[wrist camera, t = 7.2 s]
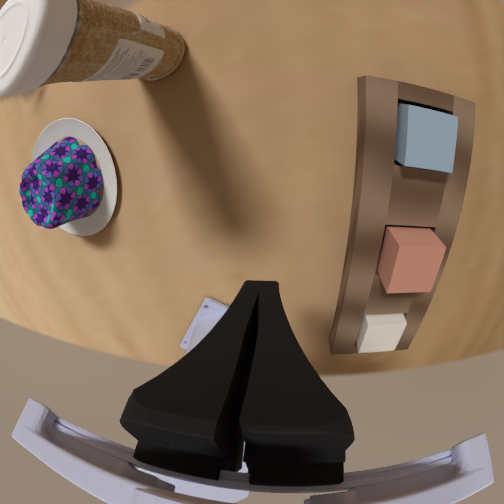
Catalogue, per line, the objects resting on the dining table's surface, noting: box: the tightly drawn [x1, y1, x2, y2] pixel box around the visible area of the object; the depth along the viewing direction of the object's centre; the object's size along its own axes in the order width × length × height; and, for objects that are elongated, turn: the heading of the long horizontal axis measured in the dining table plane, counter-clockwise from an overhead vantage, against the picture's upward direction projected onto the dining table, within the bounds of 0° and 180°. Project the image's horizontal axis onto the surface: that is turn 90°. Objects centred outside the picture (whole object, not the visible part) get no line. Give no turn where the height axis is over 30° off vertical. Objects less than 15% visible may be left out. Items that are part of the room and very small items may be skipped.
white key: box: [356, 313, 407, 353], centre depth 24 cm, size 4×4×3 cm
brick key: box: [377, 226, 446, 293], centre depth 18 cm, size 4×4×3 cm
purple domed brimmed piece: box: [20, 118, 117, 236], centre depth 19 cm, size 12×12×5 cm
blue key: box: [395, 103, 458, 173], centre depth 14 cm, size 4×4×3 cm
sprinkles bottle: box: [0, 0, 185, 97], centre depth 9 cm, size 5×5×13 cm
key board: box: [329, 76, 475, 354], centre depth 20 cm, size 25×9×2 cm, turn 3°
